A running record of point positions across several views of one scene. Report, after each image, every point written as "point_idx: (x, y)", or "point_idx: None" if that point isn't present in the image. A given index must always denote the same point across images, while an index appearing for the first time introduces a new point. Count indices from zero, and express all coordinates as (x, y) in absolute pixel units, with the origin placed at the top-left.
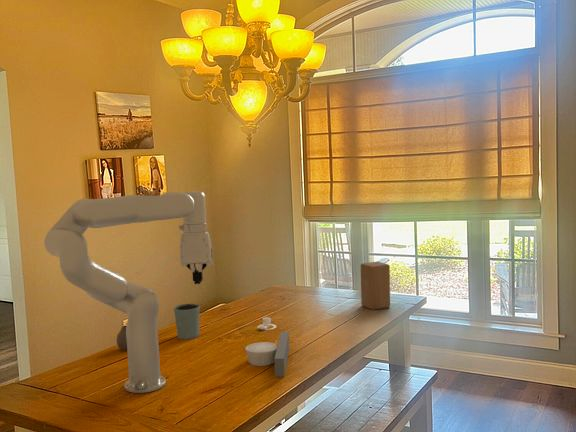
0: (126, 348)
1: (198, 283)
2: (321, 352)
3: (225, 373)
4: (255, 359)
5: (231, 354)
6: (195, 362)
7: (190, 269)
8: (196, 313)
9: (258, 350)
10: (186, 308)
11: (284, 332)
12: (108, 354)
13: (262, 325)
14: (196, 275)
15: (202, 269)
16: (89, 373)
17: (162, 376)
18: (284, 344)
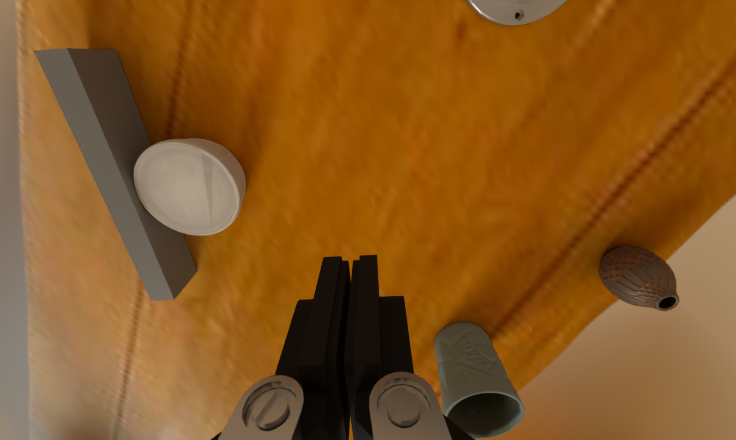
0: (620, 247)
1: (332, 257)
2: (79, 242)
3: (281, 75)
4: (201, 141)
5: (312, 225)
6: (398, 165)
7: (457, 436)
8: (447, 389)
9: (182, 160)
10: (485, 421)
11: (160, 294)
12: (667, 221)
13: None
14: (347, 333)
15: (231, 434)
16: (728, 61)
17: (474, 3)
18: (108, 196)
